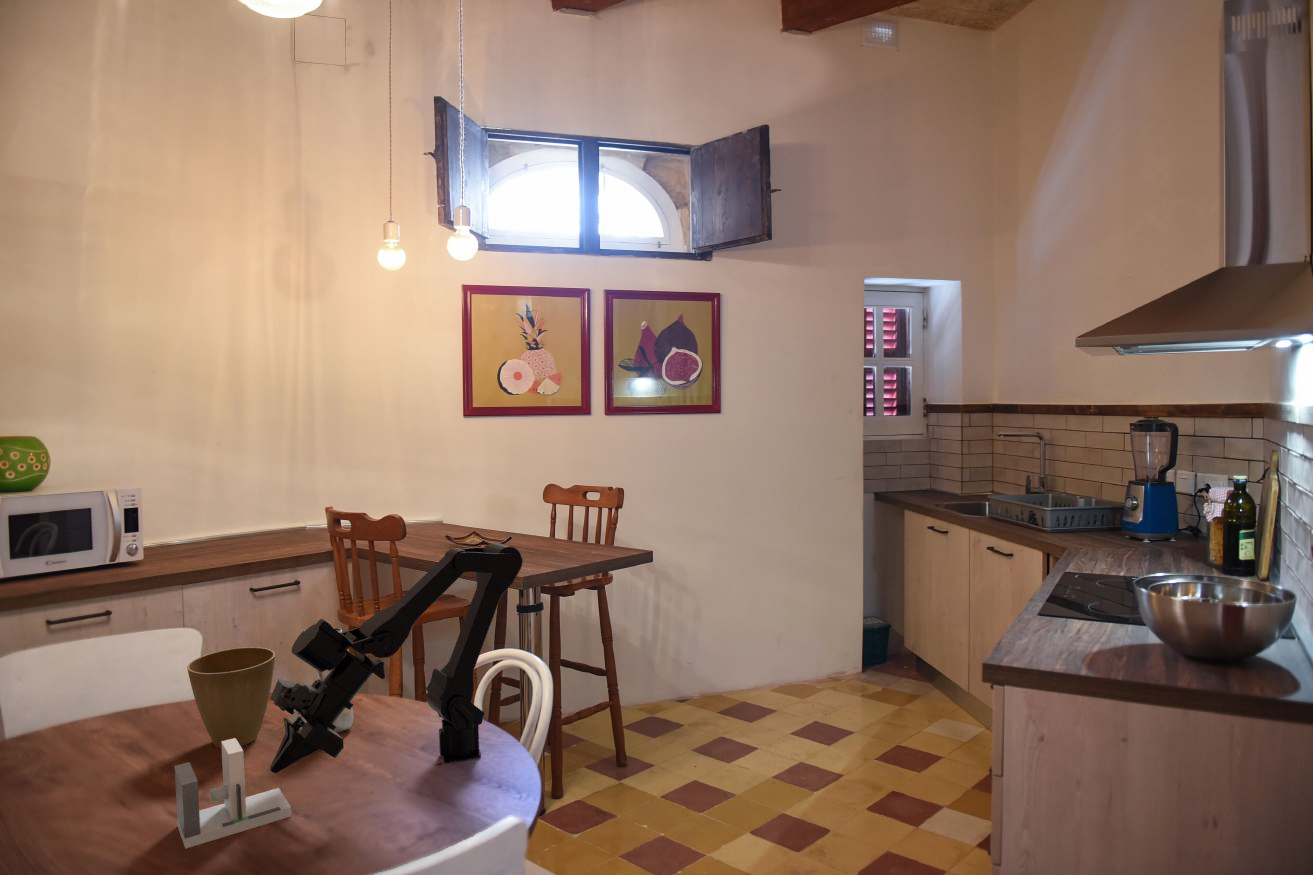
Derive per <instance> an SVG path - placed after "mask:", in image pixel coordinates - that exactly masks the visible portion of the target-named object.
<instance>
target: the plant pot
mask: <svg viewBox="0 0 1313 875" xmlns="http://www.w3.org/2000/svg"><path fill="white" fill-rule="evenodd" d="M275 657H276V652H275V651H273V650H272V649H269V648H266V647H258V646H252V647H251V646H244V647H235V648H233V647H232V648H229V649H222V650H219V651H214V652H211V653H207V654H205V655H201V656H199V657H197V658H195V659H194V660H192V661H191V662H189V663H188V665H186V668H187V674H188V677H189V678H188V679H189V683H190V686H191V690H192V693H193V697H194V701H195V704H196V706H197V709H198V712H199V714H200V718H201V720H202V722H203V724H204V727H205V729H206V731H207V733H208V735H209V737H210V740H211V741H212V743H213V744H214V746H215V747H217V748H219V749H222V744H221V741H225V740H229V739H233V738H236V740H237V741H238V743H239V744H240V746H241V747H243V746H246V745H249V744H251V743H252V742H254V741H256V739H257V738H258V735H259V734H260V730H261V728H262V724H263V722H264V718H265V714H266V711H267V708H268V707H267V706H268V703H269V699H270V696H271V690H272V681H273V678H274V677H273V674H274V668H275V661H276V658H275Z"/></svg>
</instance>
